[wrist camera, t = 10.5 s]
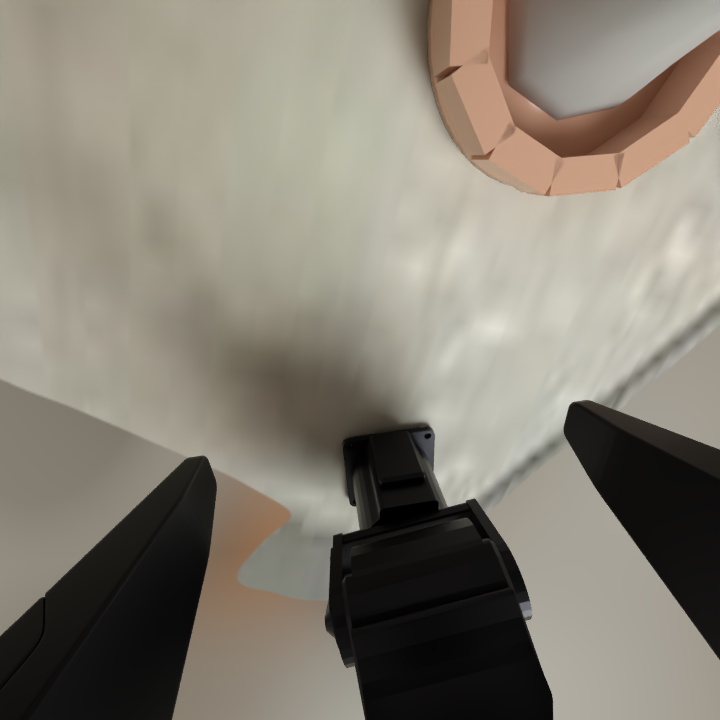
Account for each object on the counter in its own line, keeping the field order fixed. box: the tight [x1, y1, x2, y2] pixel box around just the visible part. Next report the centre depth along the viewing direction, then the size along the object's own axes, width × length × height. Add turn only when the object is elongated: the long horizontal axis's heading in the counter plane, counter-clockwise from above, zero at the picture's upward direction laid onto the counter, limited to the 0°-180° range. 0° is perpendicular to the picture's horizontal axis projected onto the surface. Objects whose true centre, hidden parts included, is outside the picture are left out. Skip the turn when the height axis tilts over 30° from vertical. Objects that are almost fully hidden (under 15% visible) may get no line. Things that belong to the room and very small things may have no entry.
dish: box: [427, 0, 720, 196], centre depth 15 cm, size 13×13×3 cm
